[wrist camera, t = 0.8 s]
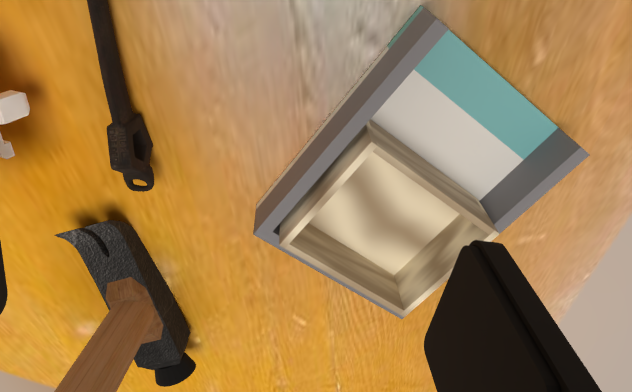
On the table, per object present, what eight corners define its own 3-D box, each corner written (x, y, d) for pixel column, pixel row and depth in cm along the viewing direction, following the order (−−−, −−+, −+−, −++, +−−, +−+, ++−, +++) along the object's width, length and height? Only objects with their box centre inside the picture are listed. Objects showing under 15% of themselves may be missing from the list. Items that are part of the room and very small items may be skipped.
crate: (362, 113, 42) (371, 141, 37) (477, 199, 47) (499, 233, 42) (280, 208, 47) (279, 245, 42) (393, 277, 52) (404, 317, 47)
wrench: (139, -236, 32) (189, 179, 46) (62, -237, 32) (135, 178, 46) (109, -267, 28) (175, 205, 41) (18, -267, 28) (114, 204, 41)
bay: (420, 4, 39) (436, 18, 35) (561, 130, 45) (589, 154, 41) (256, 204, 48) (253, 234, 44) (392, 285, 54) (401, 319, 50)
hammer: (84, 209, 50) (-217, 469, 22) (130, 196, 49) (-119, 447, 21) (160, 364, 57) (5, 713, 29) (201, 354, 56) (84, 700, 28)
